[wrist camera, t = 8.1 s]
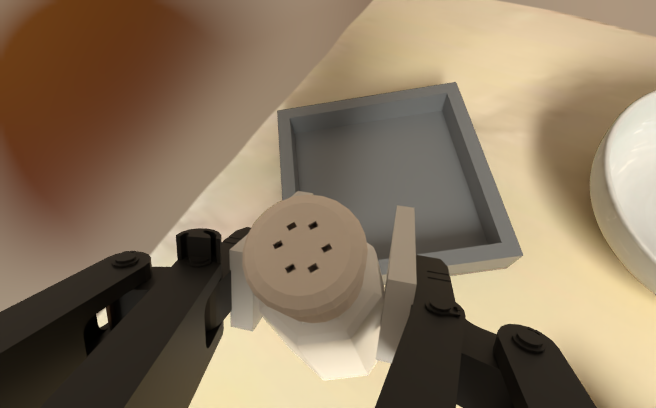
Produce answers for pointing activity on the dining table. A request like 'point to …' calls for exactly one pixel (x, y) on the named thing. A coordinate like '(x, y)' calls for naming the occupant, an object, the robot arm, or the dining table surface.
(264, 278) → the salt shaker
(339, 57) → the dining table surface
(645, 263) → the serving bowl
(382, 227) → the parts tray
